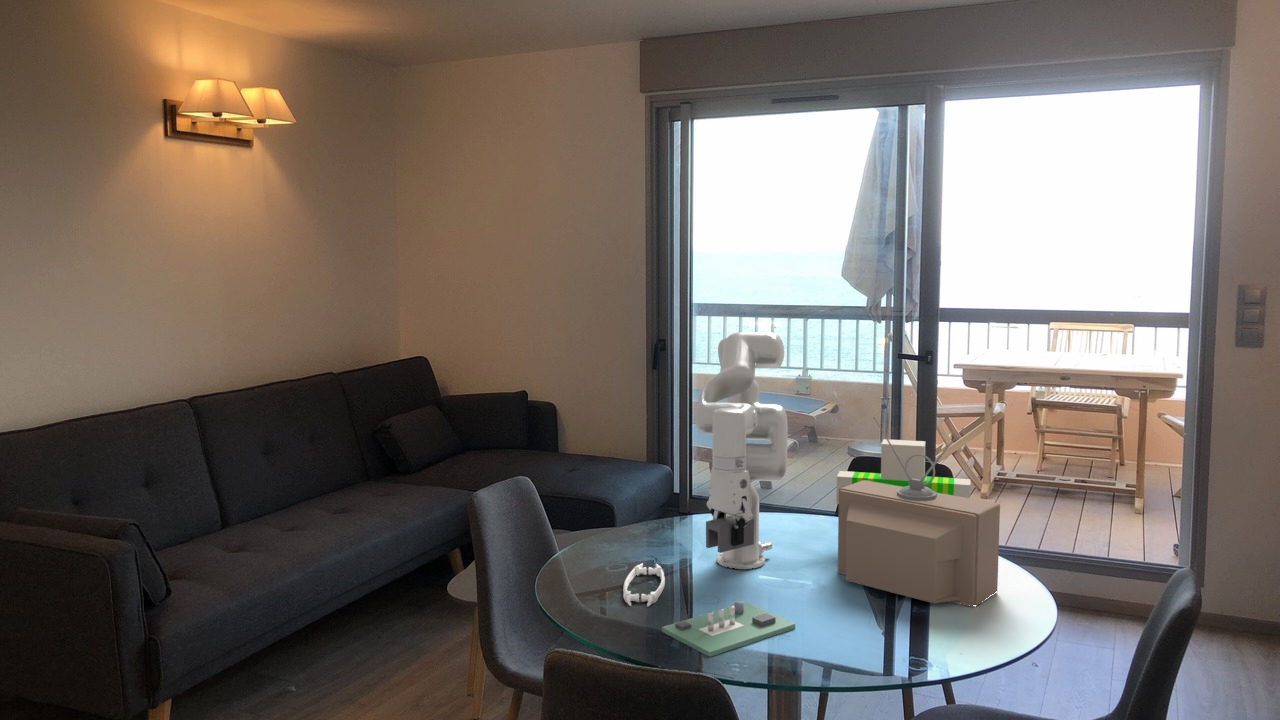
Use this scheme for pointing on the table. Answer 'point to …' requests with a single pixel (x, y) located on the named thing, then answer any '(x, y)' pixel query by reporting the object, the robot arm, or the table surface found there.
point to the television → (918, 540)
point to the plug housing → (726, 534)
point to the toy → (896, 474)
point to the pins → (721, 618)
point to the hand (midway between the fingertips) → (729, 540)
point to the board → (728, 629)
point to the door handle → (647, 598)
